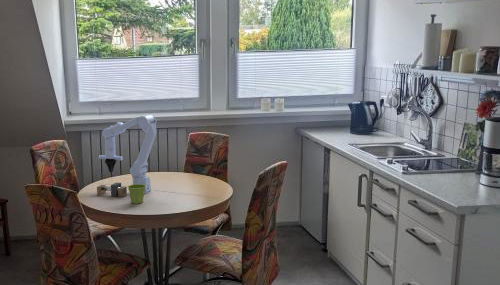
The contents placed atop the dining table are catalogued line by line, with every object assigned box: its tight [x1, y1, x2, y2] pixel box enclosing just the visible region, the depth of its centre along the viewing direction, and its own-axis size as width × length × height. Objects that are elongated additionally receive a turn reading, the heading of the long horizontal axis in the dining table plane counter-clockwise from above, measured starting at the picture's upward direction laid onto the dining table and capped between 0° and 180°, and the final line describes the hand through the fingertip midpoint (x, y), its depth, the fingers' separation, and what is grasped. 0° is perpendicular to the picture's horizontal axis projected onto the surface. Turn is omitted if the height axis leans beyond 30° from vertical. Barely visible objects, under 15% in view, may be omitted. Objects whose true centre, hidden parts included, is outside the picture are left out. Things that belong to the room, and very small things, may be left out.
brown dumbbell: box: [96, 184, 128, 198], centre depth 289 cm, size 15×5×5 cm, turn 74°
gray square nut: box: [110, 182, 122, 197], centre depth 288 cm, size 3×6×6 cm, turn 164°
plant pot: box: [127, 184, 146, 205], centre depth 275 cm, size 9×9×9 cm
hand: (111, 171), depth 301 cm, fingers closed
